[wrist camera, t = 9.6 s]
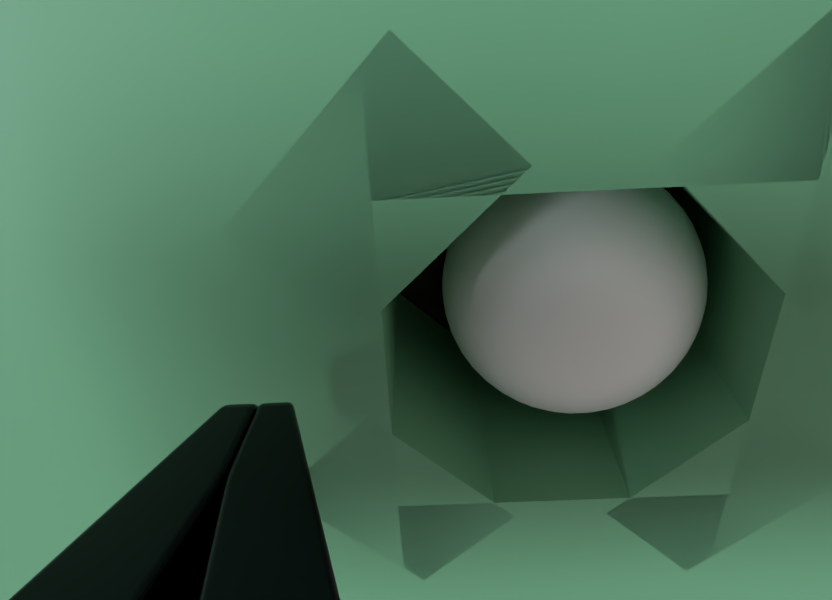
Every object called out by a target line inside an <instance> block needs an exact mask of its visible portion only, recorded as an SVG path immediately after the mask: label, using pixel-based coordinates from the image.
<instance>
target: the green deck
mask: <svg viewBox="0 0 832 600" xmlns="http://www.w3.org/2000/svg"><path fill="white" fill-rule="evenodd" d="M662 187H672V189H671V196H672V197H673V198H674V199H675V200H676V201H677V203H678V204H679V205H680V206H681V207H682V208H683V209H684V211H685V213H686V214H687V216H688V217H689V219H690V221H691V222H692V224H693V226H694V228H695V230H696V233H697V235H698V237H699V239H700V242H701V245H702V249H703V252H704V256H705V260H706V268H707V277H708V287H707V302H706V307H705V311H704V315H703V319H702V322H701V326H700V328H699V331H698V333H697V336H696V338H695V339H694V341H693V343H692V345H691V347H690V349H689V351H688V352H687V354H686V355H685V357H684V358H683V359H682V361H681V362H680V363H679V364H678V366H677V367H676V368H675V369H674V371H673V372H672V373H671V374H669V375H668V376H667V377H666V378H665V379H664V380H663V381H662V382H661V383H660V384H658V385H657V386H656V387H654V388H653V389H651V390H650V391H648V392H647V393H645V394H644V395H642V396H640V397H638V398H636V399H634V400H632V401H630V402H628V403H626V404H623V405H620V406H617V407H614V408H611V409H607V410H602V411H596V412H590V413H572V414H569V413H559V412H552V411H547V410H543V409H539V408H535V407H531V406H529V405H526V404H524V403H521V402H518V401H516V400H514V399H513V398H511V397H509V396H507V395H505V394H504V393H502V392H501V391H499V390H498V389H496V388H495V387H494V386H492V385H491V384H490V383H488V382H487V381H486V380H485V379H484V378H483V377H482V376H481V375H480V374H479V373H478V372H477V371H476V370H475V369H474V368H473V367H472V366H471V364H470V363H469V362H468V360H467V359H466V358H465V356H464V355H463V354H462V352H461V350H460V348H459V346H458V345H457V343H456V341H455V339H454V337H453V335H452V333H450V332H449V331H448V330H446V329H445V328H444V327H443V326H441V325H440V324H439V323H437V322H436V321H435V320H434V319H432V318H431V317H430V316H428V315H427V314H426V313H424V312H423V311H422V310H421V309H419V308H418V307H417V306H415V305H414V304H413V303H412V302H410V301H409V300H408V299H406V298H405V297H404V296H402V295H401V294H400V292H401V291H402V290H403V289H404V288H405V287H406V286H407V285H408V284H410V283H411V282H412V281H413V280H414V279H415V278H416V277H417V276H418V275H419V274H420V273H421V272H422V271H423V270H424V269H425V268H426V267H427V266H428V265H429V264H430V263H431V262H432V261H433V260H434V259H435V258H437V257H438V256H439V255H440V254H441V253H442V252H443V251H444V250H445V249H446V248H447V247H448V246H449V245H450V244H451V243H452V242H453V241H454V240H455V239H456V238H457V237H458V236H459V235H460V234H461V233H462V232H464V231H465V230H466V229H467V228H468V227H469V226H470V225H471V224H472V223H473V222H474V221H475V220H476V219H477V218H478V217H479V216H480V215H481V214H482V213H483V212H484V211H485V210H486V209H487V208H488V207H489V206H491V205H492V204H493V203H494V202H495V201H496V200H497V199H498V198H499V197H500V196H501V195H509V194H531V193H553V192H574V191H596V190H618V189H640V188H662ZM277 402H290V403H292V404H293V406H294V409H295V413H296V417H297V421H298V426H299V430H300V434H301V438H302V442H303V446H304V451H305V455H306V459H307V463H308V467H309V472H310V476H311V480H312V484H313V488H314V492H315V497H316V501H317V505H318V509H319V513H320V517H321V522H322V526H323V530H324V534H325V538H326V542H327V547H328V551H329V555H330V559H331V563H332V568H333V572H334V576H335V580H336V584H337V588H338V593H339V597H340V600H832V0H0V600H9V599H10V598H11V597H12V596H13V595H14V594H15V593H16V592H18V591H19V590H20V589H21V588H22V587H23V586H24V585H25V584H26V583H28V582H29V581H30V580H31V579H32V578H33V577H34V576H35V575H36V574H37V573H39V572H40V571H41V570H42V569H43V568H44V567H45V566H46V565H47V564H49V563H50V562H51V561H52V560H53V559H54V558H55V557H56V556H57V555H58V554H60V553H61V552H62V551H63V550H64V549H65V548H66V547H67V546H68V545H69V544H71V543H72V542H73V541H74V540H75V539H76V538H77V537H78V536H79V535H81V534H82V533H83V532H84V531H85V530H86V529H87V528H88V527H89V526H90V525H92V524H93V523H94V522H95V521H96V520H97V519H98V518H99V517H100V516H102V515H103V514H104V513H105V512H106V511H107V510H108V509H109V508H110V507H111V506H113V505H114V504H115V503H116V502H117V501H118V500H119V499H120V498H121V497H123V496H124V495H125V494H126V493H127V492H128V491H129V490H130V489H131V488H132V487H134V486H135V485H136V484H137V483H138V482H139V481H140V480H141V479H142V478H144V477H145V476H146V475H147V474H148V473H149V472H150V471H151V470H152V469H153V468H155V467H156V466H157V465H158V464H159V463H160V462H161V461H162V460H163V459H165V458H166V457H167V456H168V455H169V454H170V453H171V452H172V451H173V450H174V449H176V448H177V447H178V446H179V445H180V444H181V443H182V442H183V441H184V440H185V439H187V438H188V437H189V436H190V435H191V434H192V433H193V432H194V431H195V430H197V429H198V428H199V427H200V426H201V425H202V424H203V423H204V422H205V421H206V420H208V419H209V418H210V417H211V416H212V415H213V414H214V413H215V412H216V411H218V410H219V409H220V408H221V407H223V406H225V405H229V404H255V405H257V406H258V407H259V406H260V405H261V404H263V403H277Z"/></svg>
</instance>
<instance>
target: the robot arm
mask: <svg viewBox="0 0 832 600" xmlns="http://www.w3.org/2000/svg"><path fill="white" fill-rule="evenodd" d="M9 600H340V597H339V593H338V588H337V584H336V580H335V576H334V572H333V568H332V563H331V559H330V555H329V551H328V547H327V542H326V538H325V534H324V530H323V526H322V522H321V517H320V513H319V509H318V505H317V501H316V497H315V492H314V488H313V484H312V480H311V476H310V472H309V467H308V463H307V459H306V455H305V451H304V446H303V442H302V438H301V434H300V430H299V426H298V421H297V417H296V413H295V409H294V406H293V404H292V403H290V402H277V403H263V404H261V405H260V406H259V407H258V406H257V405H255V404H229V405H225V406H223V407H221V408H220V409H219V410H218V411H216V412H215V413H214V414H213V415H212V416H211V417H210V418H209V419H208V420H206V421H205V422H204V423H203V424H202V425H201V426H200V427H199V428H198V429H197V430H195V431H194V432H193V433H192V434H191V435H190V436H189V437H188V438H187V439H185V440H184V441H183V442H182V443H181V444H180V445H179V446H178V447H177V448H176V449H174V450H173V451H172V452H171V453H170V454H169V455H168V456H167V457H166V458H165V459H163V460H162V461H161V462H160V463H159V464H158V465H157V466H156V467H155V468H153V469H152V470H151V471H150V472H149V473H148V474H147V475H146V476H145V477H144V478H142V479H141V480H140V481H139V482H138V483H137V484H136V485H135V486H134V487H132V488H131V489H130V490H129V491H128V492H127V493H126V494H125V495H124V496H123V497H121V498H120V499H119V500H118V501H117V502H116V503H115V504H114V505H113V506H111V507H110V508H109V509H108V510H107V511H106V512H105V513H104V514H103V515H102V516H100V517H99V518H98V519H97V520H96V521H95V522H94V523H93V524H92V525H90V526H89V527H88V528H87V529H86V530H85V531H84V532H83V533H82V534H81V535H79V536H78V537H77V538H76V539H75V540H74V541H73V542H72V543H71V544H69V545H68V546H67V547H66V548H65V549H64V550H63V551H62V552H61V553H60V554H58V555H57V556H56V557H55V558H54V559H53V560H52V561H51V562H50V563H49V564H47V565H46V566H45V567H44V568H43V569H42V570H41V571H40V572H39V573H37V574H36V575H35V576H34V577H33V578H32V579H31V580H30V581H29V582H28V583H26V584H25V585H24V586H23V587H22V588H21V589H20V590H19V591H18V592H16V593H15V594H14V595H13V596H12V597H11V598H10V599H9Z"/></svg>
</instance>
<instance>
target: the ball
mask: <svg viewBox="0 0 832 600" xmlns="http://www.w3.org/2000/svg"><path fill="white" fill-rule="evenodd" d="M707 287H708V277H707V268H706V260H705V256H704V252H703V249H702V245H701V242H700V239H699V237H698V235H697V233H696V230H695V228H694V226H693V224H692V222H691V221H690V219H689V217H688V216H687V214H686V213H685V211H684V209H683V208H682V207H681V206H680V205H679V204H678V203H677V201H676V200H675V199H674V198H673V197H672V196H671V194H670V193H669V192H667V191H666V190H665V189H664V188H663V187H662V188H640V189H618V190H596V191H574V192H553V193H531V194H509V195H501V196H500V197H499V198H498V199H497V200H496V201H495V202H494V203H493V204H492V205H491V206H489V207H488V208H487V209H486V210H485V211H484V212H483V213H482V214H481V215H480V216H479V217H478V218H477V219H476V220H475V221H474V222H473V223H472V224H471V225H470V226H469V227H468V228H467V229H466V230H465V231H464V232H462V233H461V234H460V235H459V236H458V237H457V238H456V239H455V240H454V241H453V242H452V243H451V244H450V245H449V246H448V249H447V253H446V257H445V262H444V269H443V278H442V292H443V301H444V308H445V314H446V317H447V320H448V323H449V326H450V330H451V333H452V335H453V337H454V339H455V341H456V343H457V345H458V346H459V348H460V350H461V352H462V354H463V355H464V356H465V358H466V359H467V360H468V362H469V363H470V364H471V366H472V367H473V368H474V369H475V370H476V371H477V372H478V373H479V374H480V375H481V376H482V377H483V378H484V379H485V380H486V381H487V382H488V383H490V384H491V385H492V386H494V387H495V388H496V389H498V390H499V391H501V392H502V393H504V394H505V395H507V396H509V397H511V398H513V399H514V400H516V401H518V402H521V403H524V404H526V405H529V406H531V407H535V408H539V409H543V410H547V411H552V412H559V413H569V414H572V413H590V412H596V411H602V410H607V409H611V408H614V407H617V406H620V405H623V404H626V403H628V402H630V401H632V400H634V399H636V398H638V397H640V396H642V395H644V394H645V393H647V392H648V391H650V390H651V389H653V388H654V387H656V386H657V385H658V384H660V383H661V382H662V381H663V380H664V379H665V378H666V377H667V376H668V375H669V374H671V373H672V372H673V371H674V369H675V368H676V367H677V366H678V364H679V363H680V362H681V361H682V359H683V358H684V357H685V355H686V354H687V352H688V351H689V349H690V347H691V345H692V343H693V341H694V339H695V338H696V336H697V333H698V331H699V328H700V326H701V322H702V319H703V315H704V311H705V307H706V302H707Z"/></svg>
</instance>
